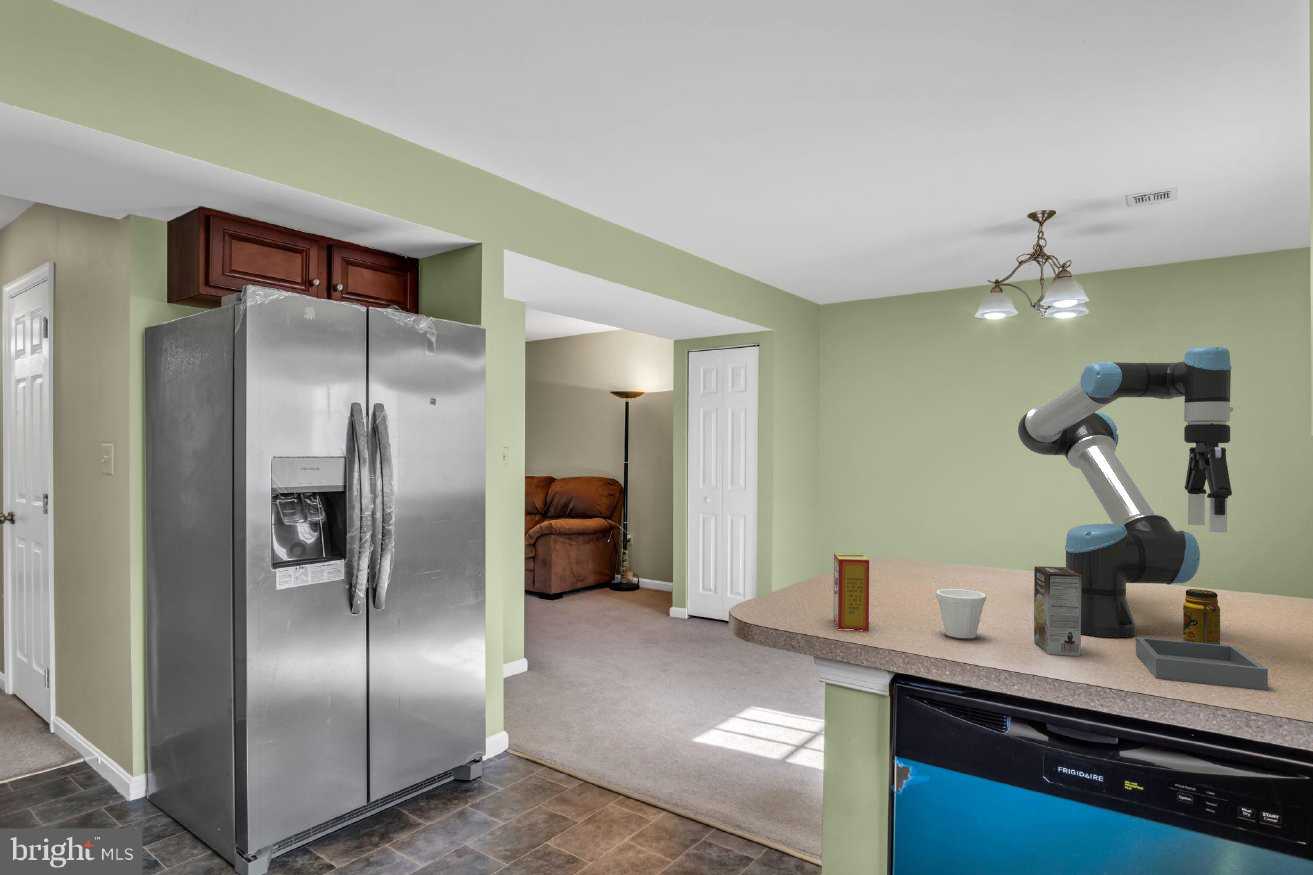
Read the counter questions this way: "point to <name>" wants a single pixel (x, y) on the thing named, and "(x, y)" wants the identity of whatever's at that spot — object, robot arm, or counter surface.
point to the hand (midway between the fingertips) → (1206, 528)
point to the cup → (960, 612)
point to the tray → (1201, 663)
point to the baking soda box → (851, 591)
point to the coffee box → (1057, 610)
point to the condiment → (1201, 617)
